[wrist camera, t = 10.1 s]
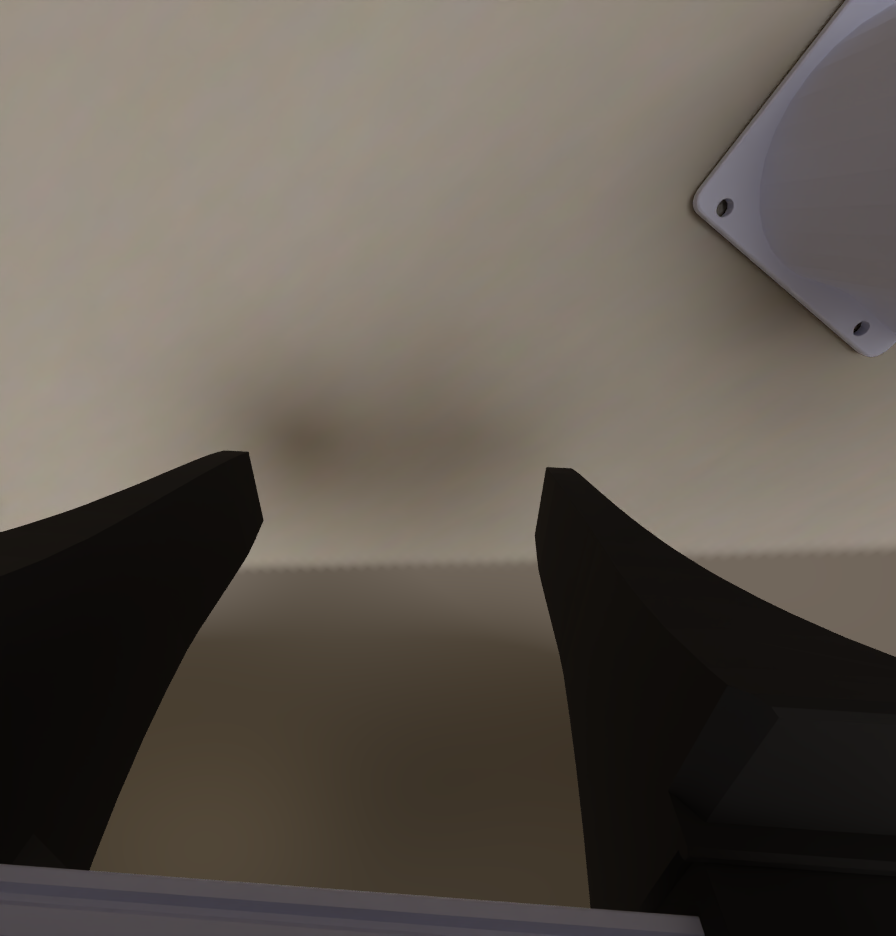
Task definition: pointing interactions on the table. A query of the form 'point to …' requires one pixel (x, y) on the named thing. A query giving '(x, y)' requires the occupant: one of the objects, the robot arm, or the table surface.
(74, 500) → the table surface
